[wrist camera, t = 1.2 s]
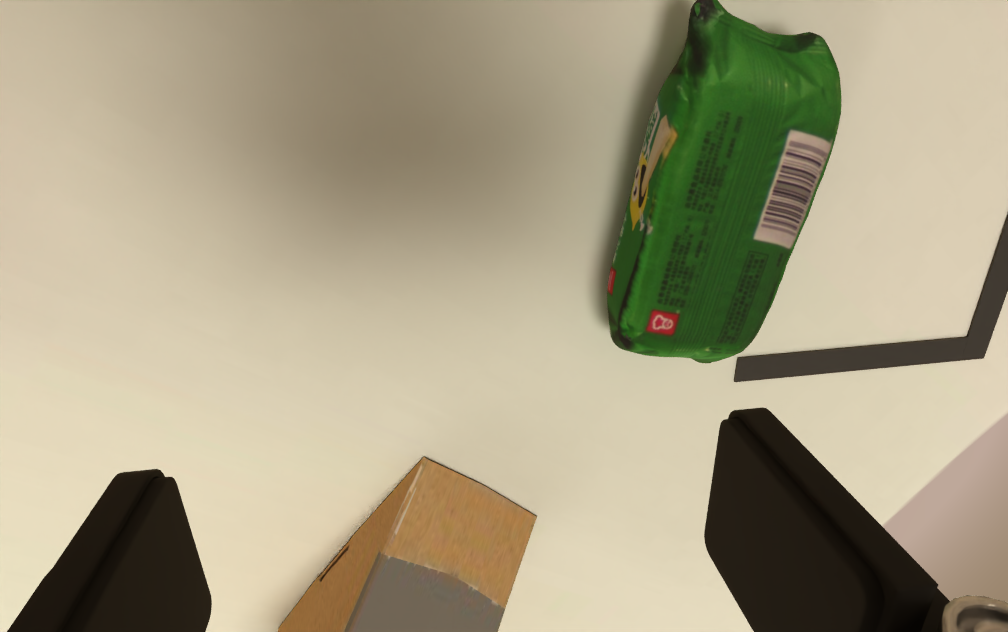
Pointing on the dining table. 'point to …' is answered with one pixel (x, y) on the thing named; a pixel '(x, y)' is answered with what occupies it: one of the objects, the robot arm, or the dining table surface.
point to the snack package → (722, 187)
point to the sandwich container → (422, 562)
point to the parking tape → (1000, 279)
